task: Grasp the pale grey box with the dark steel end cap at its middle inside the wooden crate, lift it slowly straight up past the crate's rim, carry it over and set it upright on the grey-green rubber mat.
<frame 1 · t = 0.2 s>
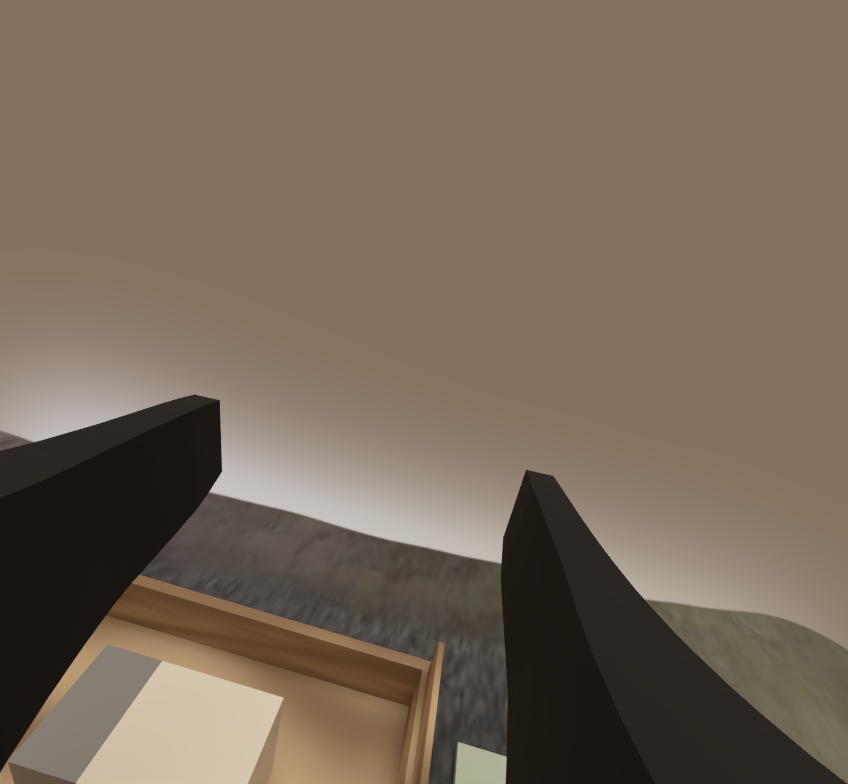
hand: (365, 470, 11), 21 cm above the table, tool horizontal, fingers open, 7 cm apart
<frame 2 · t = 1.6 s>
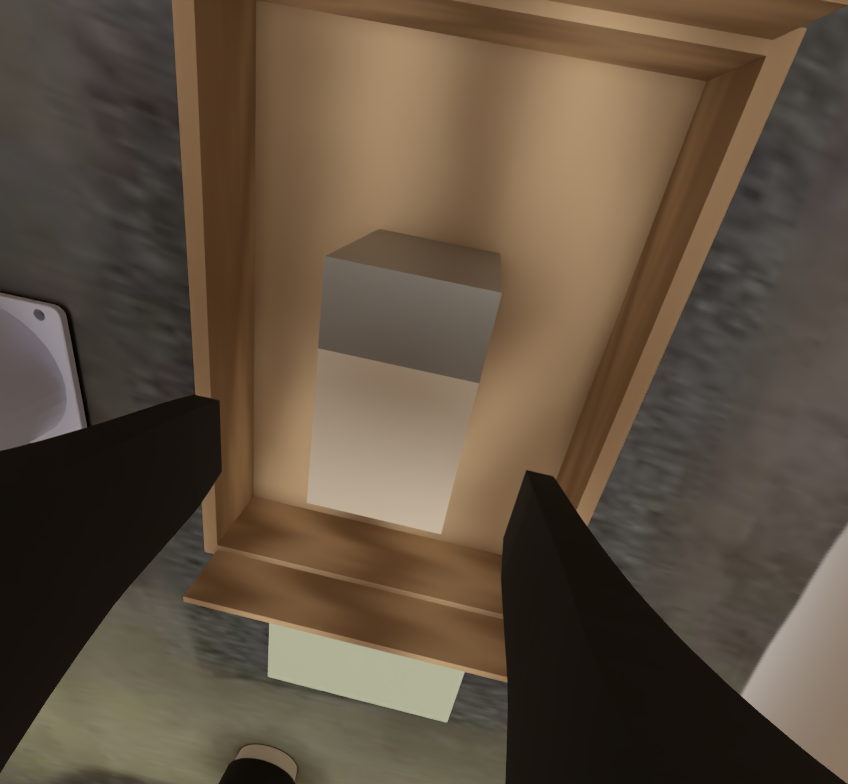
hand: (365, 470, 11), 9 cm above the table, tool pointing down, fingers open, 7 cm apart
dixie cup: (269, 759, 36), on the table
mat: (369, 633, 28), on the table
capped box: (420, 343, 19), point 1 cm above the table, touching wooden crate
wooden crate: (423, 338, 19), on the table
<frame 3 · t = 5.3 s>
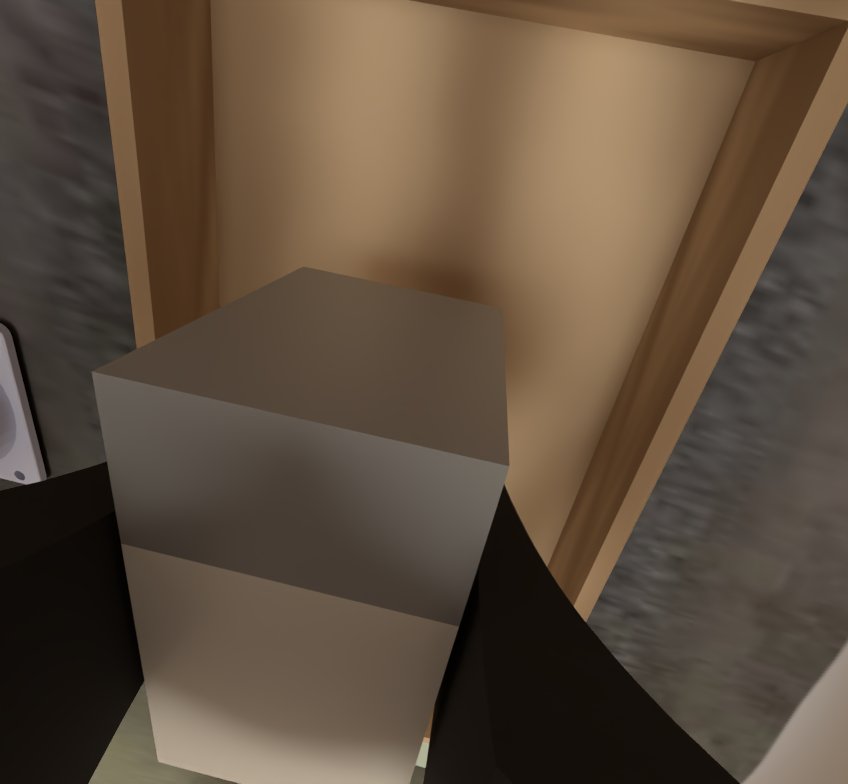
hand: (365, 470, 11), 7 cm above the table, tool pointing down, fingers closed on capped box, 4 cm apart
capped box: (378, 438, 12), point 5 cm above the table, touching gripper
wooden crate: (413, 362, 17), on the table
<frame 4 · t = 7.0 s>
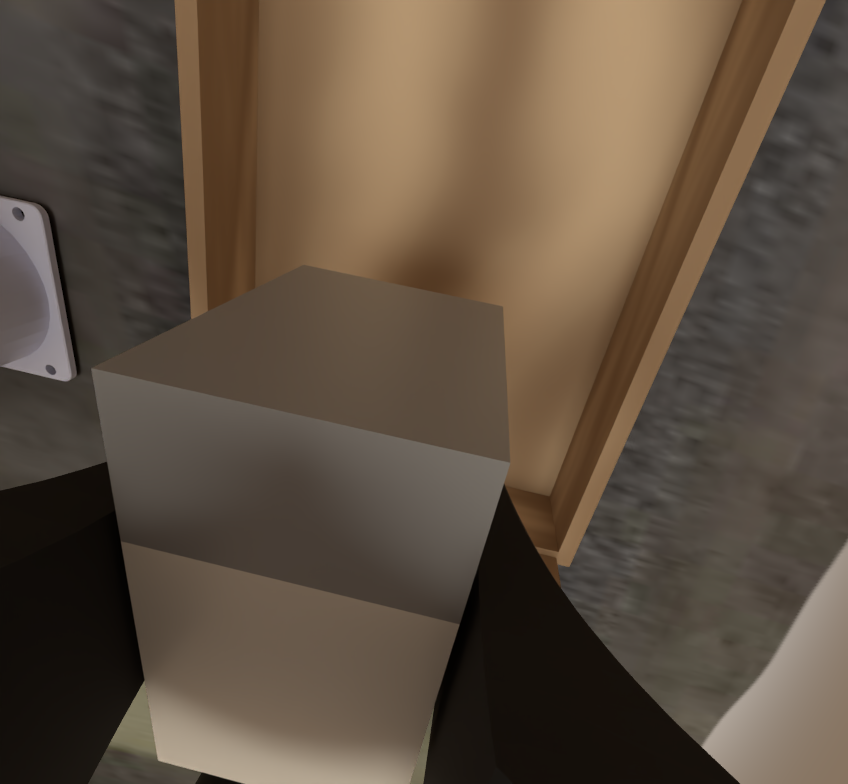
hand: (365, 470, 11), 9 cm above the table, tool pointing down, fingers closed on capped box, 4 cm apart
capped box: (379, 437, 12), point 8 cm above the table, touching gripper
wooden crate: (443, 235, 17), on the table
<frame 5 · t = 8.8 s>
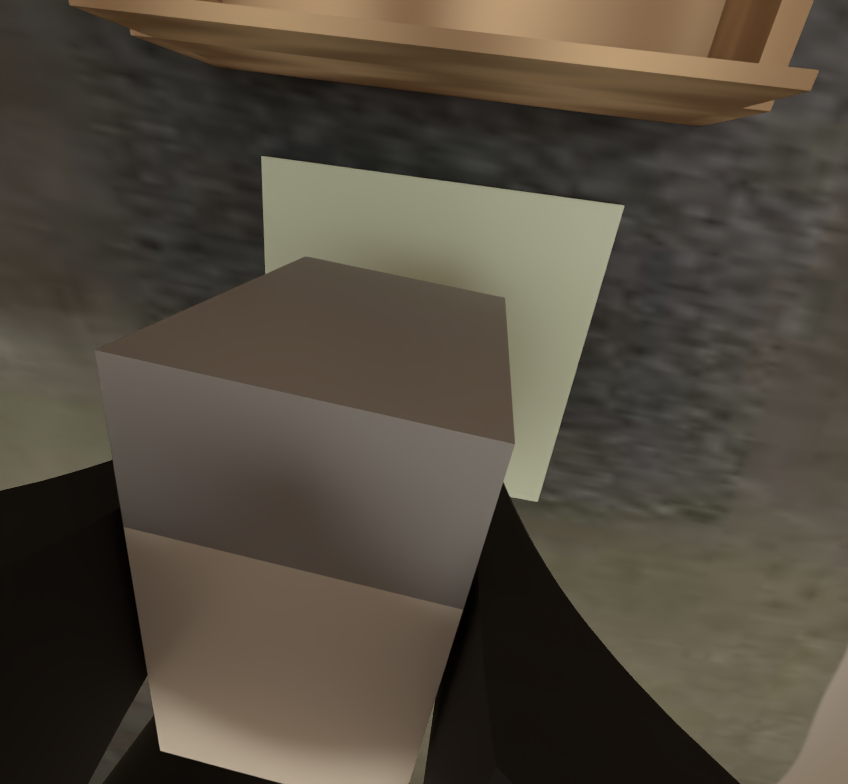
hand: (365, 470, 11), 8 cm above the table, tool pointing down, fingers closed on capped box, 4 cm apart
dixie cup: (282, 616, 27), on the table
mat: (418, 346, 18), on the table
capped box: (380, 429, 12), point 7 cm above the table, touching gripper
when the fingers open (3 cm above the table, at t = 10.5 s): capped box stays where it is, resting on mat.
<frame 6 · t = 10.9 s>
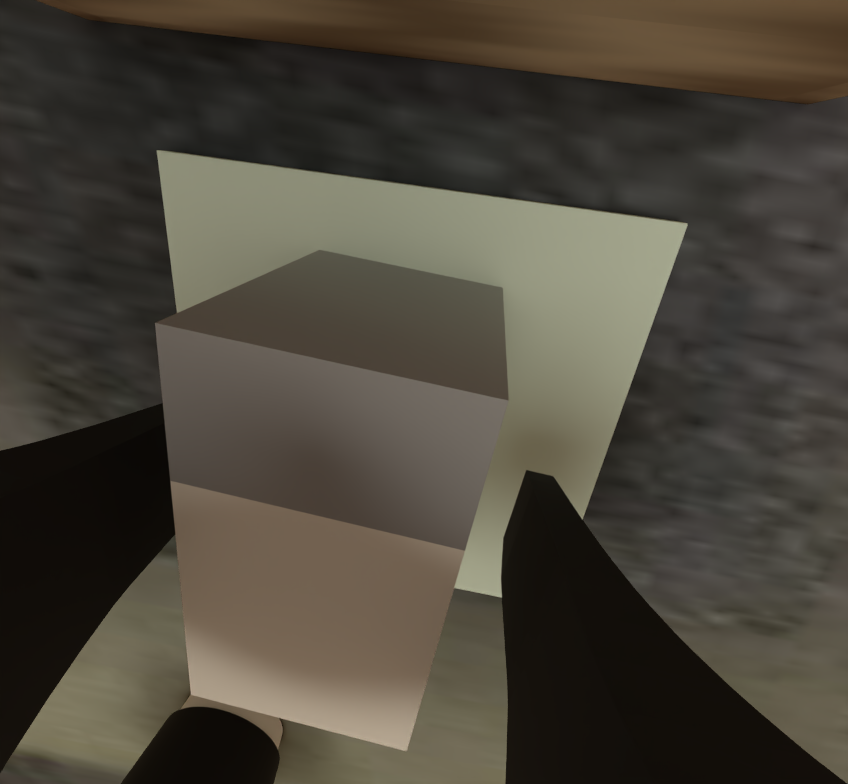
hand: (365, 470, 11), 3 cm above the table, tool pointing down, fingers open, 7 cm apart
dixie cup: (236, 714, 22), on the table
mat: (391, 410, 13), on the table
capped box: (387, 411, 13), resting on mat
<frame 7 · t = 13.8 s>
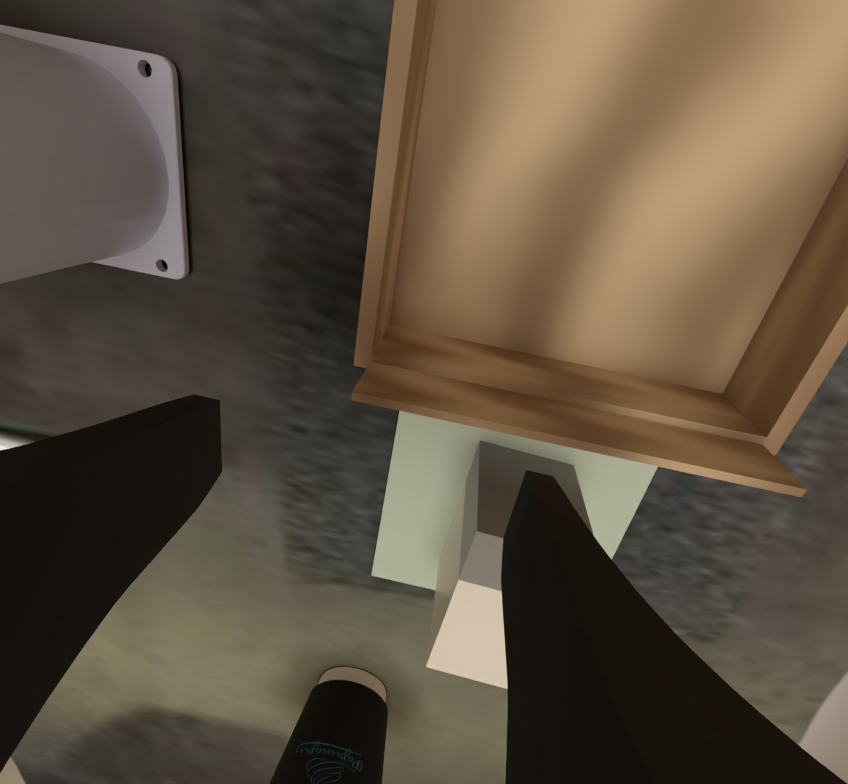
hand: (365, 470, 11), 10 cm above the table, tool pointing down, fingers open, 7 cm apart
dixie cup: (353, 686, 32), on the table
mat: (500, 512, 24), on the table
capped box: (501, 516, 23), resting on mat
wooden crate: (642, 76, 15), on the table
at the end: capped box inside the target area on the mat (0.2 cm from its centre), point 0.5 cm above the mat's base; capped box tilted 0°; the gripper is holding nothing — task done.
